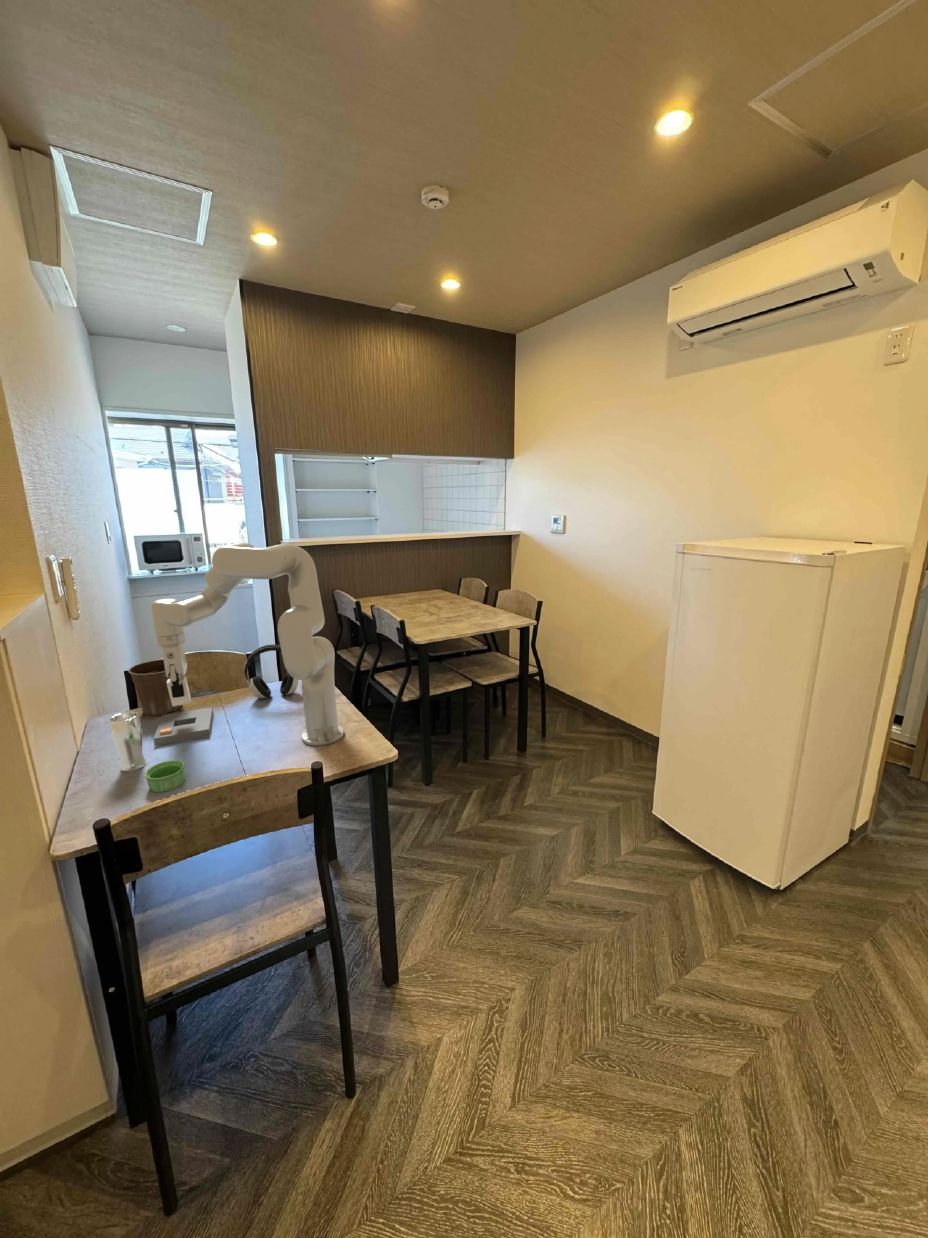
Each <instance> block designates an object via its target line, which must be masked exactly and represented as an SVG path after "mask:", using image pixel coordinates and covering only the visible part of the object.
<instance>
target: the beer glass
mask: <svg viewBox="0 0 928 1238" xmlns="http://www.w3.org/2000/svg"><path fill="white" fill-rule="evenodd" d="M109 726H110V727H109V729H110V734H111V738H112V742H113V744H114V747H115V748H116V751H117V753H118V755H119V758H120V770H121V771H122V772H125V773H128V772H129V773H130V772H134V771H138V770H140V769H142V768H143V767H146V764H147V760H146V757H145V755H144V753H143V727H142V724H141V719H140V717H139V712H137V711H126V712H120V713H118V714H115V715H113V716H111V717H110V719H109Z"/></svg>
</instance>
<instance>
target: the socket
mask: <svg viewBox="0 0 928 1238" xmlns="http://www.w3.org/2000/svg"><path fill="white" fill-rule="evenodd" d="M213 710H214V709H213V707H212V706H211V707H206V708H200V709H198V708H197V709H194V710H192V709H191V710H187V711H181V712H173V713H168V714H164V715H161V718H160V720H159V723H158V725H157V727H156V728H157V729H156V730H155V734H154V736H153V745H154V746H155V745H157V746H161V745H167V743H168V744H172V742H174V743H179V742H184V741H189V740H196V739H201V738H208V737H210V736H211V733H212V732H211V731H212V724H213V719H214V711H213Z"/></svg>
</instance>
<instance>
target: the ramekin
mask: <svg viewBox="0 0 928 1238" xmlns="http://www.w3.org/2000/svg"><path fill="white" fill-rule="evenodd" d="M144 777H145V779H146V781H147V785H148V788H149V790H151V792H154V793H164V792H163V791H165V792H168V791H167V790H169V791H171V789H172V790H174V789H176V788H179V786H181V785H182V784H183V783H184V782H185V779H186V777H185V763H184V761H181V760H175V759H174V760H173V759H172V760H166V761H161V762H159V763H156V764H154V765H153V766H151V767H149V768H147V770H146V771H145V773H144Z"/></svg>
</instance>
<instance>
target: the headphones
mask: <svg viewBox="0 0 928 1238" xmlns="http://www.w3.org/2000/svg"><path fill="white" fill-rule="evenodd" d="M272 651H274V652H281V653H282V651H281V646H280V644H266V645H262V646H261V647H258V648H256V649H255V650H254V651H252V652H251V653H250V654H249V655H248V656H247V658H246V661H245V663H244V667H243V675H244V679H245V682H246V685H247V686H248V688H249V690H250V692H251V694H252V695H253V696H254V697H255V698H256V699H267V698H269V697H270V696H271V695H272V690H271V689H270V686H269V685H268V684H267V683H266V681H265V680H263V678H261V677H260V676H259V675H256V676H253V677H252V678H250V680H249V677H248V668H249V666H250V664H251V662H252V661H253V660H254V659H255V658H256V657H257V656H259V655H262V654H263V653H266V652H272ZM298 684H299V680H297V679H295V678H293V677H292V676H291V675H290V674H289V673H288V672H286V673H285V674H284V676H283V678H282V681H281V684H280V688H279V692H280V694H281V695H284V696H288V695H290V694H294V693H295V692H296V691H297V689H298V686H299V685H298Z"/></svg>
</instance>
